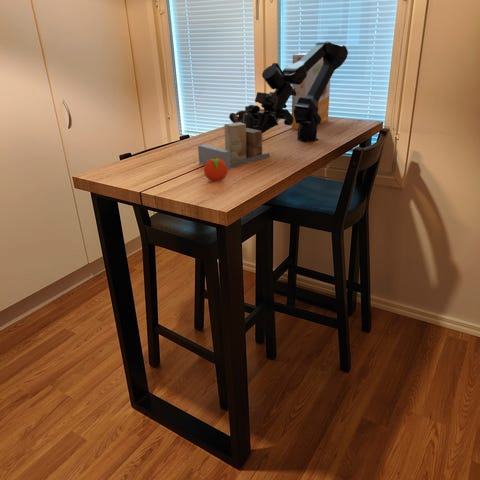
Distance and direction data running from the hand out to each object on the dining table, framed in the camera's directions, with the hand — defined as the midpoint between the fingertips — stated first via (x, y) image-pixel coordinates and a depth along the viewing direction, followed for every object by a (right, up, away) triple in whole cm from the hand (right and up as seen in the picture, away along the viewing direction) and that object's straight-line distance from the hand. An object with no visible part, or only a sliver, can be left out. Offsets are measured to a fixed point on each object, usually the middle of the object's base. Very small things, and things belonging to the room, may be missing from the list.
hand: (257, 134), depth 150 cm
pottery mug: (-6, +15, +46) cm, 49 cm away
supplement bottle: (-1, +6, +28) cm, 29 cm away
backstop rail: (-8, -9, -3) cm, 13 cm away
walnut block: (-3, -7, 0) cm, 8 cm away
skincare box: (-7, -10, -3) cm, 13 cm away
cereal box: (+26, +15, +44) cm, 53 cm away
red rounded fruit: (-13, -20, -23) cm, 33 cm away
